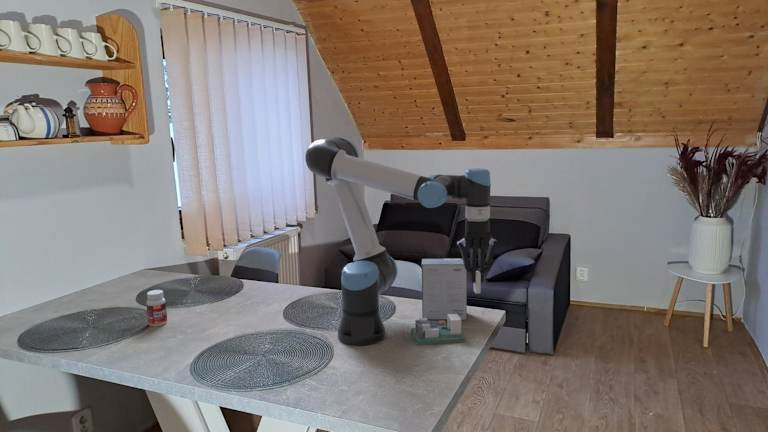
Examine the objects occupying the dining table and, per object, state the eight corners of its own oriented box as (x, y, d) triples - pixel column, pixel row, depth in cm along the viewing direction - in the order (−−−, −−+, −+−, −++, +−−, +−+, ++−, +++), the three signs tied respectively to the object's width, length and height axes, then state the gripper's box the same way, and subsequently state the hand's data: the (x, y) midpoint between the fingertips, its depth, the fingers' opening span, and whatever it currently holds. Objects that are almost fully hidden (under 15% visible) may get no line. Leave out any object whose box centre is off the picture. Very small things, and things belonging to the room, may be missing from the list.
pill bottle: (155, 328, 185) (152, 296, 182) (144, 324, 188) (141, 293, 186) (171, 322, 190) (168, 291, 188) (160, 318, 193) (157, 288, 191)
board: (416, 344, 168) (416, 328, 167) (411, 331, 179) (411, 316, 178) (464, 341, 170) (464, 326, 169) (456, 328, 180) (456, 313, 179)
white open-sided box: (451, 334, 172) (451, 320, 171) (447, 328, 177) (447, 314, 176) (461, 334, 172) (461, 319, 171) (457, 327, 178) (457, 313, 177)
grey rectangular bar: (417, 328, 172) (417, 325, 172) (416, 325, 174) (416, 322, 174) (446, 326, 173) (445, 322, 172) (444, 323, 175) (444, 319, 175)
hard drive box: (465, 312, 195) (466, 258, 191) (466, 320, 187) (467, 264, 183) (422, 311, 196) (422, 257, 192) (421, 319, 189) (421, 263, 185)
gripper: (459, 222, 164) (459, 297, 169) (502, 220, 166) (500, 294, 170) (454, 217, 171) (454, 289, 176) (494, 215, 173) (493, 287, 177)
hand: (477, 291), depth 173 cm, fingers closed
